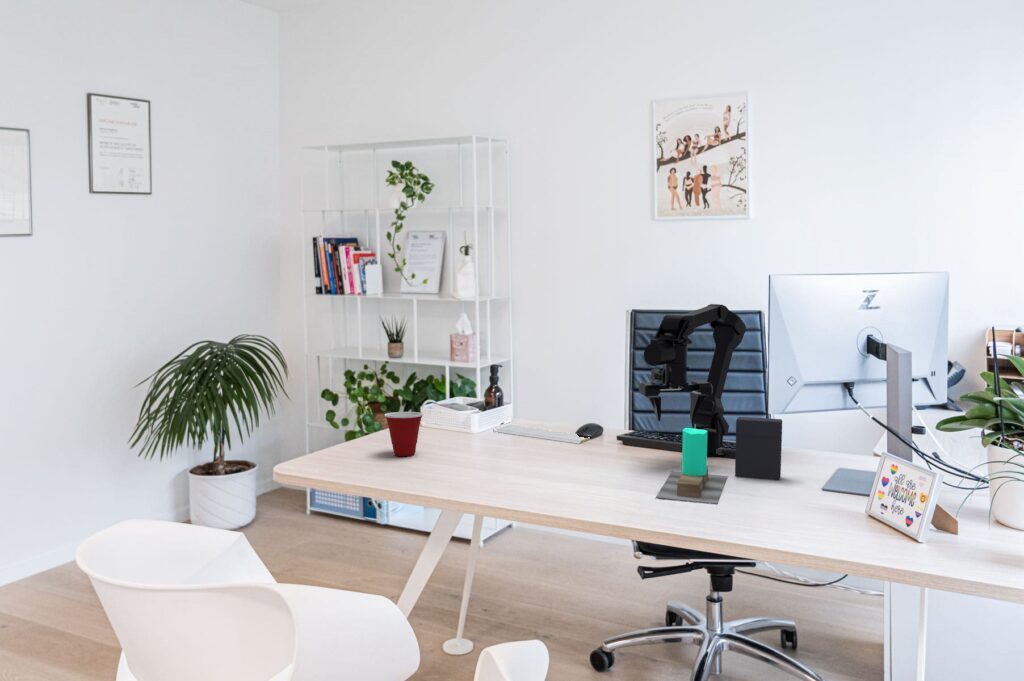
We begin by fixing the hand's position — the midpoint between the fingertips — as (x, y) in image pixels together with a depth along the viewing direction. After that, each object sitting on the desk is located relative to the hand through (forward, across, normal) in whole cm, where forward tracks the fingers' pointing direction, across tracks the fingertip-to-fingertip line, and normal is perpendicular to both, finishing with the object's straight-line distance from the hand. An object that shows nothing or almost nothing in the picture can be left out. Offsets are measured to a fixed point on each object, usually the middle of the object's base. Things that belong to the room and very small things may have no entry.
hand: (675, 420), depth 232 cm
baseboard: (+13, +27, -41) cm, 51 cm away
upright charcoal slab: (+12, -16, +16) cm, 26 cm away
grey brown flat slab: (+12, +4, +21) cm, 25 cm away
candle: (+9, +3, +20) cm, 22 cm away
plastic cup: (+12, +70, -26) cm, 76 cm away
